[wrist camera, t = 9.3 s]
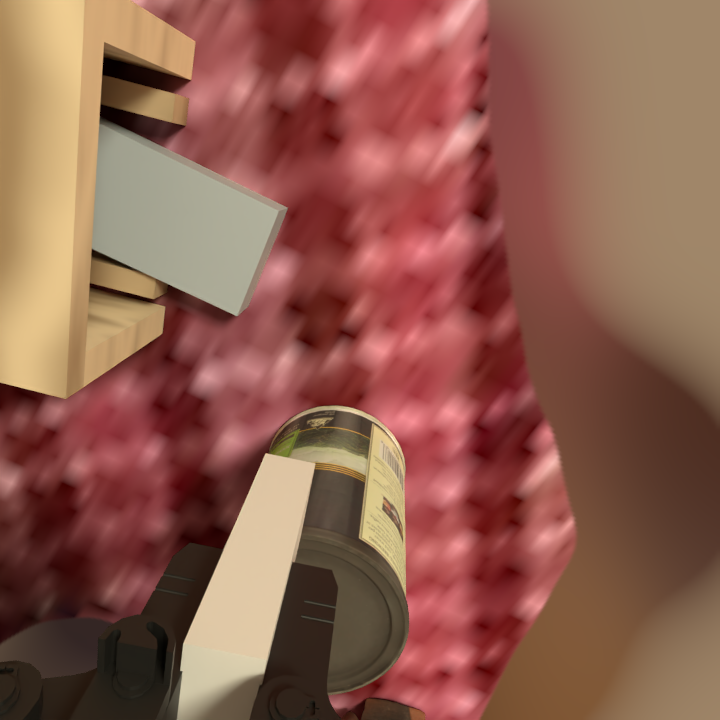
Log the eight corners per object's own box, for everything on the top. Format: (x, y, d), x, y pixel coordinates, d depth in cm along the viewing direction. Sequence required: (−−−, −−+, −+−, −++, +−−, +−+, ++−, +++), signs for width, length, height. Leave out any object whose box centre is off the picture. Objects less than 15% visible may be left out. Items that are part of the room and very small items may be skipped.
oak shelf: (-9, 290, 36) (-175, 338, 25) (-11, -13, 29) (-233, -113, 19) (162, 333, 36) (66, 399, 26) (195, 41, 30) (86, -28, 19)
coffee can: (242, 476, 39) (162, 631, 26) (319, 377, 36) (272, 495, 23) (351, 548, 41) (328, 727, 28) (435, 458, 38) (453, 613, 24)
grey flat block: (53, 212, 34) (22, 216, 31) (79, 104, 32) (47, 98, 29) (250, 304, 35) (237, 316, 32) (289, 207, 33) (278, 211, 30)
